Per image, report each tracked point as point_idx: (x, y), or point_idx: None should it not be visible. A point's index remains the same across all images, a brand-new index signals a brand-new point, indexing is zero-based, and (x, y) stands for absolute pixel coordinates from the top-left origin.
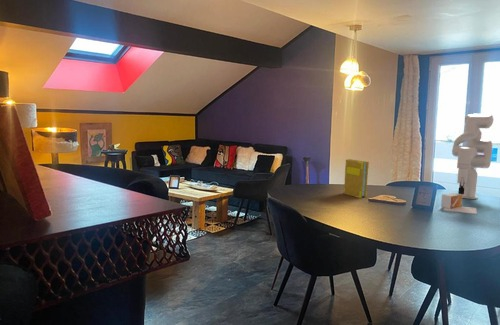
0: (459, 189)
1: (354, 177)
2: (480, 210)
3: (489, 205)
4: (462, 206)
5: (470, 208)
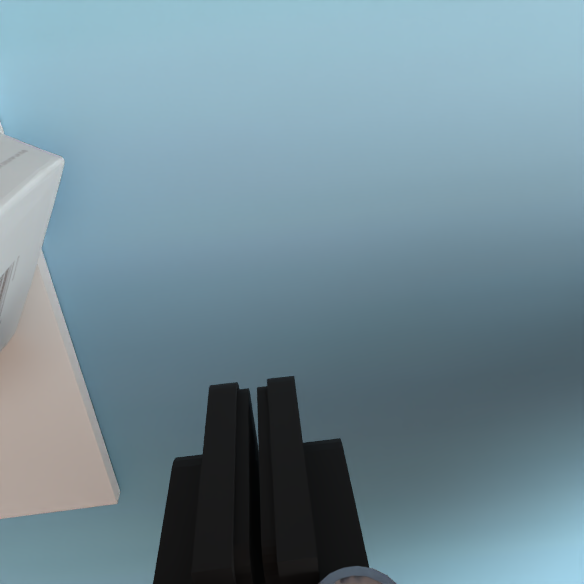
0: (202, 525)
1: None
2: (69, 538)
3: (520, 565)
4: (60, 341)
5: (3, 454)
